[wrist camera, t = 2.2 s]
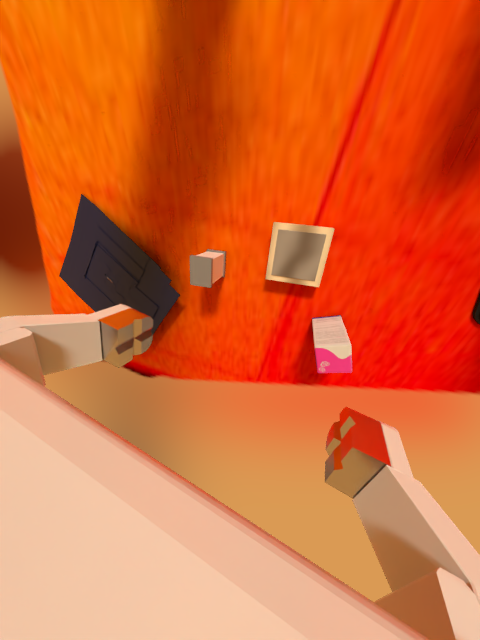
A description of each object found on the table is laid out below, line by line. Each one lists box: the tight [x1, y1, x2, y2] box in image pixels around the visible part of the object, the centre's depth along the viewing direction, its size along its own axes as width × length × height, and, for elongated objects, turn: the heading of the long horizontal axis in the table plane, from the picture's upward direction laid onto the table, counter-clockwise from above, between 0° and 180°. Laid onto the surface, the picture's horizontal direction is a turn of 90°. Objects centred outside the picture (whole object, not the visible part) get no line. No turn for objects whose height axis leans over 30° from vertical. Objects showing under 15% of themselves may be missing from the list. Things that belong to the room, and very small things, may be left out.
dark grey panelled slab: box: [59, 194, 180, 335], centre depth 52 cm, size 24×30×4 cm
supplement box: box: [312, 315, 352, 373], centre depth 41 cm, size 6×6×12 cm
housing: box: [190, 249, 226, 288], centre depth 42 cm, size 4×5×8 cm
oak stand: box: [266, 222, 334, 287], centre depth 39 cm, size 10×10×3 cm
